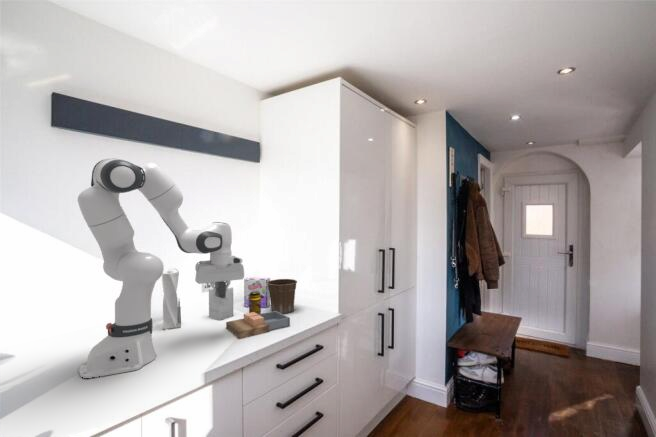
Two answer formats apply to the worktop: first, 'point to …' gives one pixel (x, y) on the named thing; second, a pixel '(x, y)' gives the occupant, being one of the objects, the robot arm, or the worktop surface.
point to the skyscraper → (171, 300)
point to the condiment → (255, 302)
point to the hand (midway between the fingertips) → (220, 291)
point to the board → (245, 328)
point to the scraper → (220, 293)
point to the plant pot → (282, 295)
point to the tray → (275, 320)
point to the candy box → (257, 290)
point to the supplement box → (218, 310)
